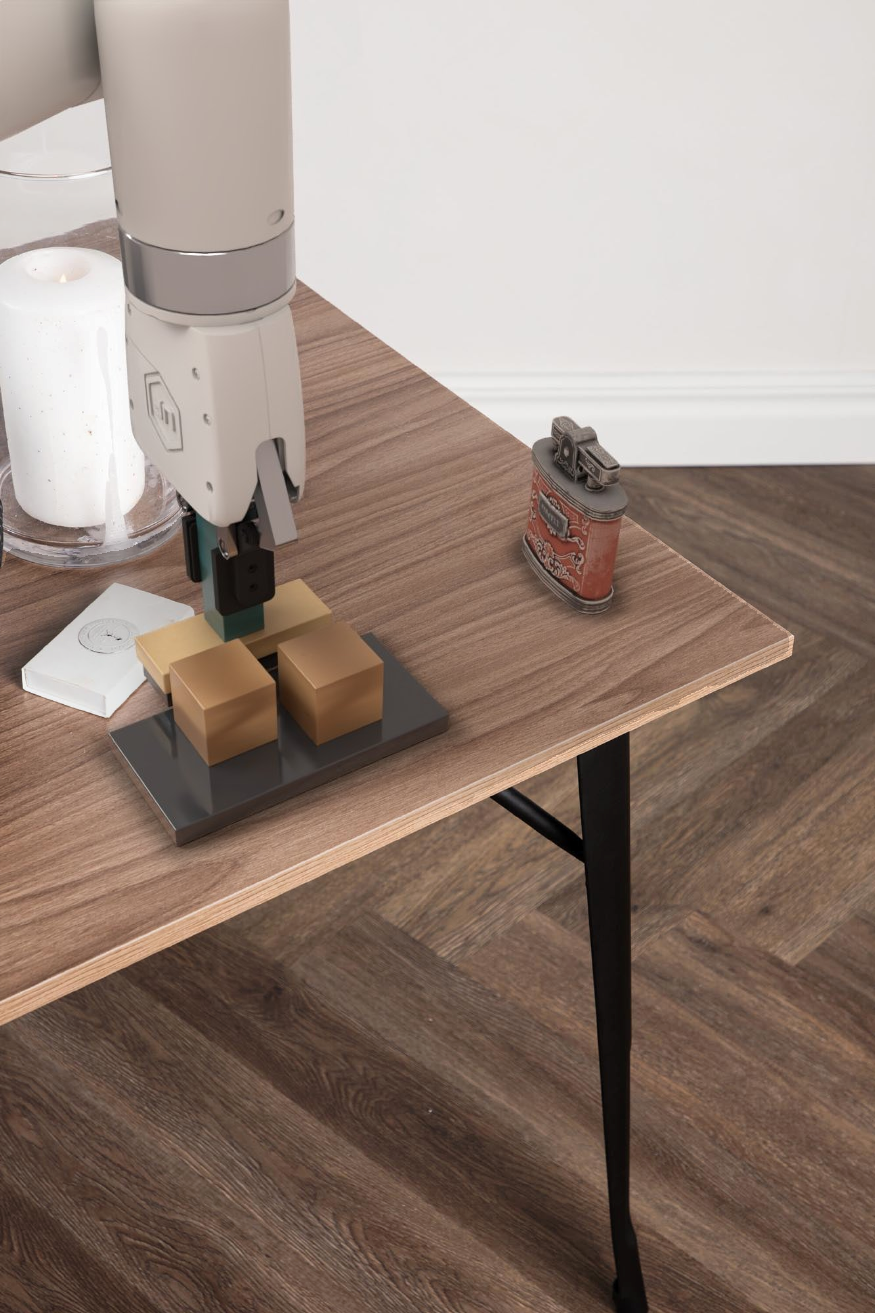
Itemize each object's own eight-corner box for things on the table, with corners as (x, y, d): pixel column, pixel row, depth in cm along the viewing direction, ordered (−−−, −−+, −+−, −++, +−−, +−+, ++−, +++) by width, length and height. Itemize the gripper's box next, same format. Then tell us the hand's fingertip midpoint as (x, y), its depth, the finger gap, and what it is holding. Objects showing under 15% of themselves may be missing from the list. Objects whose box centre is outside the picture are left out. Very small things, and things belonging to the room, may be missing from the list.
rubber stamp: (167, 712, 74) (148, 548, 67) (138, 674, 76) (117, 511, 69) (332, 647, 78) (331, 488, 71) (301, 613, 80) (297, 454, 73)
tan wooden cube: (208, 767, 71) (203, 709, 69) (173, 721, 74) (167, 663, 71) (278, 739, 73) (276, 681, 71) (242, 694, 76) (238, 637, 73)
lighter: (509, 545, 89) (523, 406, 82) (556, 532, 90) (572, 395, 84) (576, 619, 84) (596, 478, 77) (624, 605, 85) (648, 464, 78)
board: (177, 847, 69) (175, 831, 68) (109, 748, 74) (107, 732, 73) (449, 730, 76) (450, 713, 75) (370, 646, 81) (371, 630, 80)
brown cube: (316, 746, 73) (315, 689, 70) (279, 701, 75) (276, 644, 73) (382, 719, 75) (384, 662, 72) (343, 675, 77) (343, 619, 75)
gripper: (54, 205, 65) (100, 532, 77) (217, 357, 55) (240, 704, 67) (202, 175, 68) (223, 492, 80) (380, 312, 58) (374, 651, 70)
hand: (231, 586), depth 74 cm, fingers closed on rubber stamp, 2 cm apart
